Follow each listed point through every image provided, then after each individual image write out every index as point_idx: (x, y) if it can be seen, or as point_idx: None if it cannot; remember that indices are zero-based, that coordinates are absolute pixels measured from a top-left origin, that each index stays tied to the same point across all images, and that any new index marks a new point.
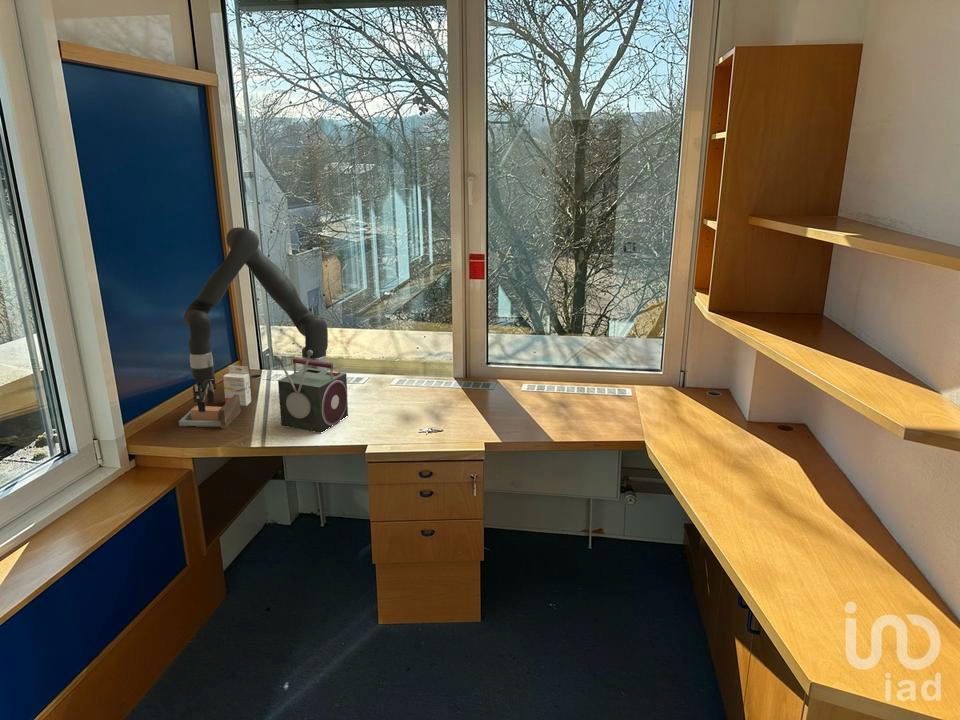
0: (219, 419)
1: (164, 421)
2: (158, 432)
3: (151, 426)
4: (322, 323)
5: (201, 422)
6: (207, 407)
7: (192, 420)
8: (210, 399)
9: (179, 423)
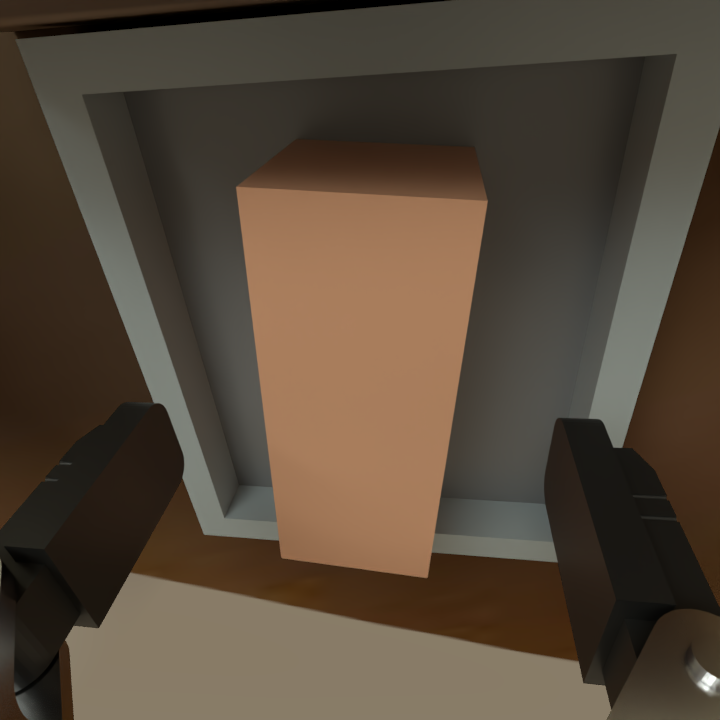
0: (443, 149)
1: (443, 612)
2: None
3: (546, 652)
4: None
5: (644, 350)
6: (318, 430)
7: None
8: (140, 486)
9: None
